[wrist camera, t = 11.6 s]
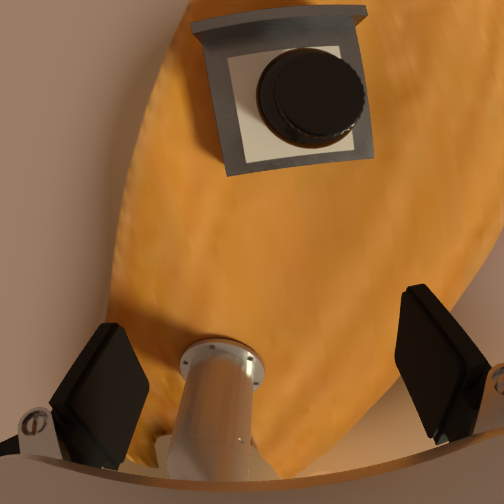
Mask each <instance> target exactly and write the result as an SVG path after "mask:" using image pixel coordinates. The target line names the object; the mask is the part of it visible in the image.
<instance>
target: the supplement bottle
mask: <svg viewBox="0 0 504 504" xmlns="http://www.w3.org/2000/svg"><path fill="white" fill-rule="evenodd" d="M364 97H365V92H364V86H363V84H362V83H361V78H360V77H359V76H358V75H357V73H356V71H355V70H354V69H352V67H351V65H350V64H348V63H346V62H345V61H344V60H343V59H341V58H338V57H337V56H335V55H333V54H331V53H329V52H326V51H323V50H320V49H315V48H297V49H292V50H289V51H286V52H284V53H282V54H280V55H278V56H277V57H275V58H274V59H273V60H272V61H271V62H270V63H269V64H268V65H267V66H266V67H265V68H264V70H263V72H262V73H261V75H260V77H259V80H258V83H257V87H256V105H257V110H258V113H259V116H260V117H261V119H262V121H263V123H264V124H265V126H266V127H267V128H268V129H269V130H270V131H271V133H273V134H274V135H275V136H276V137H277V138H279V139H280V140H282V141H284V142H286V143H288V144H290V145H293V146H296V147H299V148H305V149H318V148H324V147H327V146H330V145H333V144H335V143H337V142H339V141H340V140H342V139H343V138H344V137H346V136H347V135H348V134H349V133H350V132H351V130H352V129H353V128H354V126H355V125H356V123H357V121H358V120H359V119H360V117H361V113H362V112H363V106H364V104H365V100H364Z"/></svg>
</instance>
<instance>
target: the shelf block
mask: <svg viewBox="0 0 504 504" xmlns="http://www.w3.org/2000/svg"><path fill="white" fill-rule="evenodd" d="M367 16H368V13H367V9H366V6H365V5H306V6H291V7H280V8H270V9H262V10H255V11H248V12H241V13H235V14H230V15H225V16H219V17H215V18H210V19H205V20H201V21H197V22H193V23H190V24H191V30H192V34H193V35H194V36H195V37H196V38H197V39H198V40H199V41H200V42H201V43H202V47H203V52H204V58H205V63H206V69H207V74H208V80H209V85H210V90H211V96H212V101H213V107H214V112H215V117H216V123H217V128H218V133H219V138H220V144H221V149H222V154H223V159H224V165H225V170H226V175H227V177H228V176H234V175H240V174H247V173H253V172H260V171H267V170H273V169H281V168H288V167H296V166H304V165H312V164H321V163H330V162H340V161H350V160H361V159H373V158H374V149H373V138H372V128H371V119H370V111H369V103H368V96H367V89H366V83H365V76H364V70H363V65H362V59H361V54H360V49H359V44H358V39H357V34H356V29H355V26H357V25H358V24H359V23H360V22H361V21H362V20H363V19H365V18H366V17H367ZM297 48H315V49H320V50H323V51H326V52H329V53H331V54H333V55H335V56H337V57H338V58H341V59H343V60H344V61H345V62H346V63H348V64H350V65H351V67H352V69H354V70H355V71H356V73H357V75H358V76H359V77H360V78H361V83H362V84H363V86H364V92H365V97H364V100H365V104H364V106H363V112H362V113H361V117H360V119H359V120H358V121H357V123H356V125H355V126H354V128H353V129H352V130H351V132H350V133H349V134H348V135H347V136H346V137H344V138H343V139H342V140H340V141H339V142H337V143H335V144H333V145H330V146H327V147H324V148H318V149H305V148H299V147H296V146H293V145H290V144H288V143H286V142H284V141H282V140H280V139H279V138H277V137H276V136H275V135H274V134H273V133H271V131H270V130H269V129H268V128H267V127H266V126H265V124H264V123H263V121H262V119H261V117H260V116H259V113H258V110H257V105H256V87H257V83H258V80H259V77H260V75H261V73H262V72H263V70H264V68H265V67H266V66H267V65H268V64H269V63H270V62H271V61H272V60H273V59H274V58H275V57H277V56H278V55H280V54H282V53H284V52H286V51H289V50H292V49H297Z"/></svg>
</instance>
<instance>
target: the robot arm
mask: <svg viewBox="0 0 504 504" xmlns="http://www.w3.org/2000/svg"><path fill="white" fill-rule="evenodd" d="M395 363H396V366H397V368H398V370H399V372H400V374H401V376H402V378H403V381H404V383H405V385H406V387H407V389H408V391H409V394H410V396H411V398H412V401H413V403H414V405H415V407H416V410H417V412H418V414H419V417H420V419H421V421H422V424H423V426H424V428H425V431H426V433H427V436H428V437H429V438H433V439H434V441H435V444H436V445H439V444H442V443H444V442H447V441H449V443H448V444H445V445H442V446H439V447H436V448H433V449H430V450H427V451H424V452H421V453H418V454H414V455H411V456H407V457H404V458H400V459H397V460H392V461H389V462H385V463H381V464H377V465H373V466H368V467H364V468H359V469H354V470H349V471H344V472H338V473H332V474H326V475H319V476H311V477H303V478H294V479H283V480H270V481H248V476H249V456H250V439H251V420H252V401H253V392H254V391H255V390H257V389H258V388H259V387H260V386H261V384H262V382H263V379H264V365H263V362H262V360H261V358H260V357H259V356H258V355H257V353H256V352H254V351H253V350H252V349H251V348H249V347H247V346H245V345H244V344H241V343H238V342H236V341H232V340H228V339H206V340H201V341H199V342H196V343H194V344H192V345H191V346H189V347H188V348H187V349H186V350H185V351H184V353H183V355H182V357H181V360H180V372H181V374H182V376H183V378H184V379H185V381H186V383H185V386H184V390H183V394H182V398H181V402H180V406H179V410H178V414H177V418H176V422H175V426H174V430H173V434H172V438H171V442H170V446H169V451H168V455H167V469H168V472H169V475H170V477H171V479H165V478H156V477H147V476H140V475H134V474H127V473H121V472H116V471H118V468H119V465H120V463H123V461H124V459H125V457H126V454H127V451H128V448H129V445H130V442H131V439H132V436H133V433H134V431H135V428H136V425H137V422H138V419H139V417H140V414H141V411H142V408H143V406H144V403H145V400H146V397H147V395H148V392H149V382H148V379H147V377H146V375H145V373H144V371H143V369H142V367H141V365H140V363H139V361H138V359H137V357H136V355H135V352H134V350H133V348H132V346H131V344H130V341H129V339H128V337H127V335H126V332H125V330H124V328H123V327H121V326H119V324H118V323H102V324H101V325H100V326H99V327H98V329H97V330H96V331H95V333H94V335H93V336H92V337H91V339H90V340H89V342H88V343H87V344H86V346H85V347H84V349H83V350H82V352H81V353H80V355H79V356H78V358H77V359H76V361H75V362H74V364H73V365H72V367H71V368H70V370H69V371H68V373H67V374H66V376H65V377H64V379H63V381H62V382H61V384H60V385H59V387H58V389H57V390H56V392H55V393H54V395H53V396H52V398H51V400H50V401H49V404H50V405H51V407H52V408H53V409H52V411H51V412H50V411H49V410H48V409H47V408H44V407H37V408H34V409H31V410H29V411H28V412H26V413H25V414H24V415H23V416H22V418H21V419H20V421H19V424H18V434H17V435H16V436H14V437H11V438H9V439H7V440H5V441H3V442H1V443H0V504H504V363H500V364H497V365H495V366H494V367H491V366H490V364H489V363H488V361H487V360H486V358H485V357H484V356H483V354H482V353H481V352H480V350H479V349H478V348H477V346H476V345H475V344H474V342H473V341H472V340H471V339H470V337H469V336H468V335H467V333H466V332H465V331H464V330H463V329H462V327H461V326H460V325H459V324H458V322H457V321H456V320H455V319H454V318H453V316H452V315H451V314H450V313H449V311H448V310H447V309H446V308H445V307H444V306H443V304H442V303H441V302H440V301H439V300H438V299H437V297H436V296H435V295H434V294H433V293H432V292H431V291H430V289H429V288H428V287H427V286H426V285H425V284H418V285H413V286H408V287H407V289H406V292H403V293H402V296H401V307H400V317H399V325H398V333H397V341H396V348H395ZM102 466H103V467H104V468H106V469H111V470H116V471H111V470H106V469H101V467H102Z"/></svg>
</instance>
